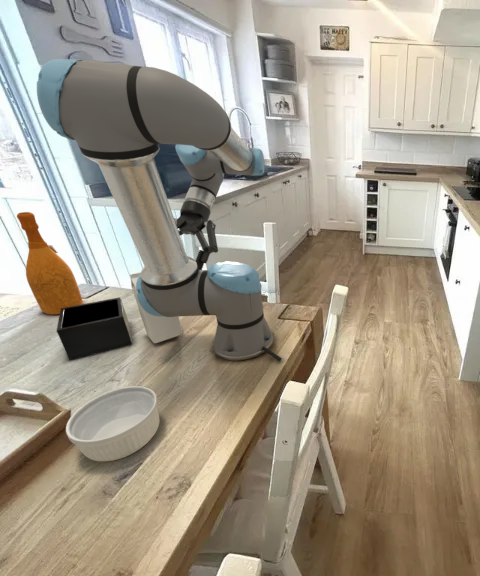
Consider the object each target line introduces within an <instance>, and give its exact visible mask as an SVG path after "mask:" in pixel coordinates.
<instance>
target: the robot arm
mask: <svg viewBox="0 0 480 576" xmlns="http://www.w3.org/2000/svg"><path fill="white" fill-rule="evenodd" d="M37 77H38V78H37V81H36V97H37V102H38V105H39V109H40V112H41V113H42V117H43V118H44V120H45V121H46V123H47V125H48V126H49V127H50V128H51V130H53V131H54V132H56V134H57V135H59V136H60V137H63V138H64V139H65V138H66V139H68V140H71V141H75V142H76V144H77V146H78V148H79V151H80V152H81V155H82V156H83V157H84V158H86V159H88V160H90V161H92V162H94V163H96V164H98V167H99V169H100V171H101V174H102V175H103V178H104V180H105V182H106V184H107V186H108V188H109V191H110V193H111V196H112V197H113V199H114V202H115V204H116V206H117V209H118V211H119V213H120V215H121V218H122V220H123V221H124V224H125V226H126V228H127V231H128V234H129V235H130V237H131V239H132V242H133V243H134V246H135V248H136V251H137V253H138V254H139V257H140V259H141V261H142V264H143V267H142V269H141V270H140V272H141V274H140V276H139V277H138V279H137V283H136V290H137V291H138V294H137V298H138V301H139V303H140V305H141V306H142V308H143V309H144V310H145V311H146V312H147V313H149V314H151V315H154V316H164V317H175V316H178V317H193V316H194V317H199V316H201V317H202V316H215V318H216V325H217V326H216V329H215V334H214V339H213V349H214V352H215V354H216V355H217V357H219V358H221V359H223V360H226V361H231V362H232V361H233V362H235V361H237V362H240V361H247V360H252V359H254V358H256V357H260V356H261V355H263V354H265V353H266V354H268V355H269V356H271V357H272V358H274V359H275V360H276V361H278V362H281V360H282V357H281V356H280V355H278V354H277V353H275V352H273V351H272V350H270V348H271V347H272V346H273V344H274V336H273V331H272V329H271V328H270V326H269V323H268V322H267V320H266V318H265V315H264V305H263V294H262V283H261V279H260V274H259V271H258V270H257V269H256V268H254V267H253V266H252V265H250V264H248V263H244V262H238V261H223V262H217V263H213V264H211V265H210V266H209V267H208V269H203V268H204V265H205V264H207V263H208V260H209V257H210V255H211V254H212V253H215V254H216V253H218V252H219V247H218V243H217V235H216V231H215V230H216V226H217V224H215V223H214V221H212V220H211V219H209V218H210V216H211V213H212V212H211V211H212V210H213V207H214V204H215V202H216V199H217V196H218V194H219V191H220V188H221V185H222V183H223V182H224V177H225V175H237V176H238V175H241V176H250V177H253V176H263V175H264V173H265V155H264V153H263V151H262V149H260V148H256V147H255V148H254V147H248V146H247V144H246V143H245V142H244V140H242V138H241V137H240V136H239V135H238V133H237V132H236V131H235V129H233V127H232V124H231V120H230V117H229V115H228V113H227V112H226V110H225V109H224V108H223V107H222V106H221V104H220V103H219V102H218V101H217V100H216V99H215V98H214V97H213V96H211V95H210V94H209V93H208V92H206V91H204V90H203V89H202V88H200V87H199V86H197V85H196V84H194V83H193V82H191V81H189V80H187V79H186V78H184V77H181V76H179V75H177V74H176V73H173V72H170V71H168V70H165V69H161V68H157V67H153V66H141V65H140V66H139V65H130V64H124V63H123V64H122V63H114V62H106V61H96V60H87V59H84V58H83V59H82V58H81V59H79V58H75V59H72V58H71V59H69V58H57V59H56V58H55V59H51V60H49V61H47V62H46V63H44V64H43V65H42V66H41V68H40V70H39V72H38V75H37ZM160 145H175V151H176V154H177V156H178V158H179V160H180V162H181V163H182V165H183V166H184V168H185V169H186V171H187V173H188V174H189V176H190V178H191V183H190V185H189V188H188V190H187V193H186V195H185V197H184V201H183V203H182V205H181V207H180V210H179V213H180V214H179V216H178V218H175V217H174V215H173V212H172V208H171V206H170V202H169V200H168V197H167V194H166V190H165V188H164V185H163V182H162V179H161V176H160V173H159V170H158V168H157V167H158V166H157V164H156V162H155V157H156V156H157V155H158V153H159V152H160V149H161V148H160ZM205 228H206V234H207V235H206V236H207V239H206V237H205V235H204V232H203V230H204V229H205ZM183 235H190V236H195V237H196V238H197V240H198V242H199V244H200V246H201V249H199V250H198V253H197V256H196V258H195V259H194V258H193V257H191V256H188V255H187V252H186V249H185V247H184V244H183V241H182V238H181V236H183ZM207 240H208V241H207Z"/></svg>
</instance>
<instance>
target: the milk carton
mask: <svg viewBox="0 0 480 576" xmlns="http://www.w3.org/2000/svg"><path fill="white" fill-rule="evenodd" d="M140 274H141V271H140V272H135V273H131V274H129V278H130V286H131V290H132V293H133V295H134V299H135V301H136V305H137V307H138V311H139V314H140V317H141V320H142V323H143V326H144V329H145V332H146V335H147V337H148V338H149V339H150V341H151V342H152V343H153V344H158V343H161V342H163V341H167V340H170V339H173V338H175V337H179V336H182V335H184V332H183V331H184V330H183V328H182V325H181V320H180V316H175V317H164V316H154V315H151V314H149V313H147V312H146V311H145V310H144V309H143V308H142V306H141V305H140V303H139V301H138V298H137V294H138V291H137V290H136V283H137V279H138V277H139V276H140Z"/></svg>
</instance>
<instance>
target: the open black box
mask: <svg viewBox="0 0 480 576" xmlns="http://www.w3.org/2000/svg"><path fill="white" fill-rule="evenodd" d="M56 333H57V336H58V337H59V340H60V342H61V344H62V347H63V349H64V351H65V353H66V356H67V358H68V360H69V361H73V360H76V359H80V358H84V357H88V356H92V355H95V354H100V353H103V352H108V351H111V350H115V349H119V348H124V347H127V346H132V345H133V341H132V334H131V327H130V321H129V318H128V316H127V313H126V309H125V306H124V303H123V300H122V297H121V296H120V297H114V298H109V299H103V300H98V301H97V300H96V301H93V302H88V303H82V304H81V305H76V306H71V307H65V308H61V310H60V314H58V321H57V326H56Z"/></svg>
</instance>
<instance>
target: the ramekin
mask: <svg viewBox="0 0 480 576" xmlns="http://www.w3.org/2000/svg"><path fill="white" fill-rule="evenodd" d="M159 426H160V412H159V398H158V396H157V394H156V392H155V391H154V390H153V389H152V388H149V387H147V386H143V385H128V386H123V387H119V388H115V389H112V390H108V391H106V392H104V393H102V394H100V395H97V396H95V397H93V398H92V399H90V400H88V401H86V403H84V404H83V405H81V406H80V407H79V408H78V409H76V411H75V412H74V413H73V414H72V415H71V416H70V417H69V419H68V420H67V423H66V425H65V434H66V436H67V439H68V440H69V441H70V442H71V443H72V444H73V445H75V446H76V448H78V450H79V451H80V453H82V454H83V455H84V456H85V457H86V458H88V459H89V460H91V461H94V462H113V461H118V460H121V459H123V458H124V459H125V458H126V457H128V456H130V455H133V454H135V453H136V452H138V451H139V450H140V449H142V448H144V447H145V446H146V445H147V444H148V443H149V442H150V441H151V440H152V438H153V437H154V436H155V434H156V433H157V431H158V429H159Z"/></svg>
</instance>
